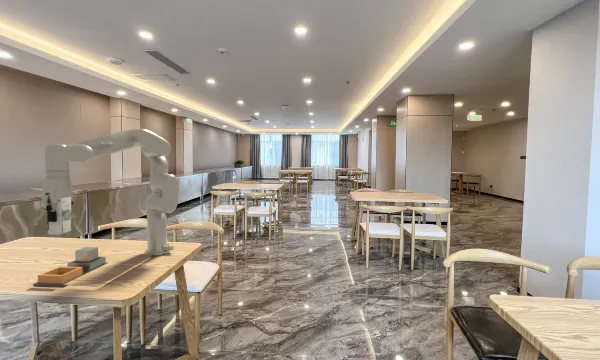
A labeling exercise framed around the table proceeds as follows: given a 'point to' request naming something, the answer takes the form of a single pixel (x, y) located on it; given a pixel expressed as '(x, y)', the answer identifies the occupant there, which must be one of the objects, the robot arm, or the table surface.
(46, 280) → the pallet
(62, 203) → the syrup box
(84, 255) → the block
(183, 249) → the table surface
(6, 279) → the table surface
